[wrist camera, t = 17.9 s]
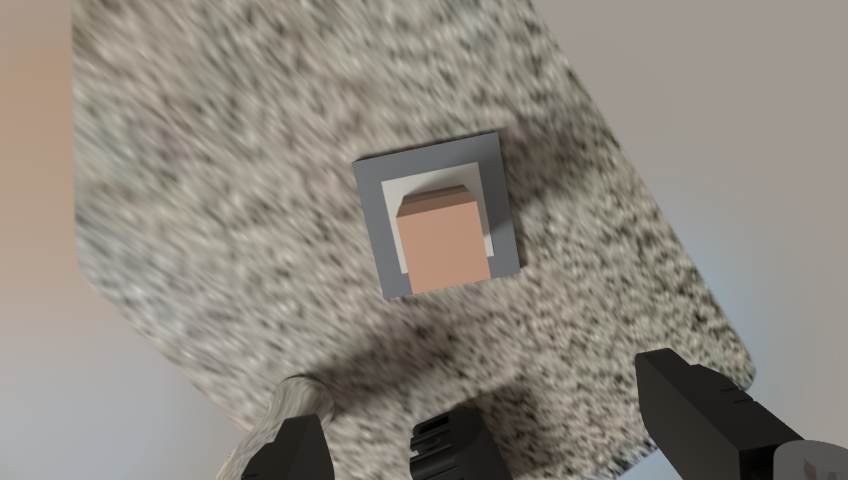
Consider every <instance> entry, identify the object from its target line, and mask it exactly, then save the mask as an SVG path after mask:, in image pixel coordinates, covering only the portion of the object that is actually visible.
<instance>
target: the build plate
mask: <svg viewBox="0 0 848 480" xmlns="http://www.w3.org/2000/svg"><path fill="white" fill-rule="evenodd" d="M352 166H353V170H354V174H355V178H356V183H357V187H358V191H359V195H360V199H361V204H362V208H363V212H364V216H365V220H366V225H367V229H368V233H369V237H370V241H371V246H372V250H373V254H374V258H375V262H376V267H377V271H378V275H379V279H380V283H381V288H382V292H383V296H384V299H390V298H395V297H400V296H405V295H410V294H413V292H412V287H411V283H410V279H409V274H408V270H407V266H406V261H405V257H404V253H403V248H402V244H401V239H400V235H399V231H398V226H397V222H396V215H397V212H398V209H399V206H400V205H401V203H402V199H403V196H407V195H412V194H417V193H422V192H427V191H432V190H437V189H442V188H447V187H452V186H458V185H463V184H464V186H465V187H466V188H467V189H468V190H469V191H470V194H471V195H472V196H473V197H474V199H475V200H476V201H477V206H478V211H479V217H480V222H481V227H482V233H483V238H484V244H485V249H486V254H487V260H488V265H489V270H490V276H491V278H496V277H502V276H507V275H512V274H517V273H521V271H520V265H519V259H518V253H517V247H516V240H515V234H514V228H513V222H512V216H511V210H510V204H509V198H508V192H507V186H506V179H505V173H504V167H503V161H502V155H501V149H500V143H499V137H498V132H494V133H489V134H484V135H479V136H475V137H470V138H465V139H460V140H456V141H451V142H446V143H441V144H436V145H432V146H427V147H422V148H417V149H413V150H408V151H403V152H398V153H393V154H389V155H384V156H379V157H374V158H370V159H365V160H360V161H355V162H352Z"/></svg>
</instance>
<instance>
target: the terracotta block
mask: <svg viewBox="0 0 848 480" xmlns="http://www.w3.org/2000/svg"><path fill="white" fill-rule="evenodd" d="M396 222H397V226H398V231H399V235H400V239H401V244H402V248H403V253H404V257H405V261H406V266H407V270H408V274H409V279H410V283H411V287H412V292H413V294H417V293H422V292H427V291H432V290H437V289H442V288H447V287H452V286H457V285H462V284H467V283H472V282H477V281H481V280H486V279H491V276H490V270H489V265H488V260H487V254H486V249H485V244H484V238H483V233H482V227H481V222H480V217H479V211H478V206H477V201H476V200H475V199H474V197H473V196H472V195H471V194H470V193H469V191H467V192H462V193H457V194H452V195H448V196H443V197H438V198H433V199H429V200H424V201H419V202H414V203H410V204H405V205H400V206H399V209H398V212H397V215H396Z"/></svg>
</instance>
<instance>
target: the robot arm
mask: <svg viewBox="0 0 848 480" xmlns="http://www.w3.org/2000/svg"><path fill="white" fill-rule="evenodd" d="M635 368H636V377H637V386H638V395H639V405H640V412H641V416H642V420H643V422H644V425H645V427H646V430H647V432H648V433H649V435H650V437H651V438H652V439H653V441H654V442H655V443H656V445H657V446H658V447H659V449H660V450H661V451H662V453H663V454H664V455H665V456H666V458H667V459H668V460H669V462H670V463H671V464H672V466H673V467H674V468H675V470H676V471H677V472H678V474H679V475H680V476H681V477H682V479H683V480H848V449H846V448H843V447H840V446H836V445H834V444H830V443H826V442H820V441H813V440H805V439H803V438H802V437H801V436H800V435H798V434H797V433H796V432H795V431H793V430H792V429H791V428H790V427H788V426H787V425H786V424H785V423H783V422H782V421H781V420H779V419H778V418H777V417H776V416H774V415H773V414H772V413H771V412H769V411H768V410H767V409H766V408H764V407H763V406H762V405H761V404H759V403H758V402H757V401H753V398H752V397H750V396H749V395H748V394H747V393H745V392H744V391H743V390H739V387H738V386H737V385H735V384H734V383H733V382H732V381H730V380H729V379H728V378H727V377H725V376H724V375H723V374H721V373H719V372H716V371H714V370H712V369H709V368H707V367H705V366H702V365H700V364H696V365H689V364H688V363H687V362H686V361H685V360H684V359H682V358H681V357H680V356H679V355H678V354H677V353H675V352H674V351H673V350H672V349H670V348H664V349H659V350H654V351H648V352H643V353H638V354H636V356H635ZM241 480H335V476H334V468H333V464H332V460H331V457H330V453H329V450H328V446H327V443H326V439H325V436H324V432H323V429H322V426H321V422H320V419H319V417H318V415H317V414H315V413H312V414H307V415H302V416H296V417H291V418H286V419H285V420H284V421H283V423H282V425H281V427H280V429H279V431H278V433H277V435H276V437H275V439H274V441H273V442H270V443H265V445H264V446H263V447H262V448H261V449H260V450H259V451H258V452H257V453H256V454H255V455H254V456H253V457H252V458H251V459H250V460H249V462H248V464H247V466H246V468H245V469H244V471H243V473H242V475H241Z"/></svg>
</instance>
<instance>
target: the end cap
mask: <svg viewBox="0 0 848 480" xmlns="http://www.w3.org/2000/svg"><path fill="white" fill-rule="evenodd" d="M413 436H414V437H413V438H411V442H410V449H411V450H412V452H413V451H415V450H417V451H418V453H419V455H417V456H414V457H412V458H410V473H411V476H412V478H413V480H513V478H512V476H511V474H510V472H509V470H508V468H507V466H506V464H505V462H504V460H503V458H502V456H501V454H500V452H499V450H498V448H497V446H496V444H495V442H494V440H493V438H492V436H491V434H490V432H489V430H488V428H487V426H486V424H485V422H484V420H483V418H482V416H481V415H480V414H479V413H478V412H476V411H475V410H472V409H467V408H462V409H455V410H452V411H449V412H446V413H444V414H442V415H439V416H437V417H434V418H432V419H430V420H427V421H425V422H422V423H420V424H418V425H416V426H415V427H414V428H413Z"/></svg>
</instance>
